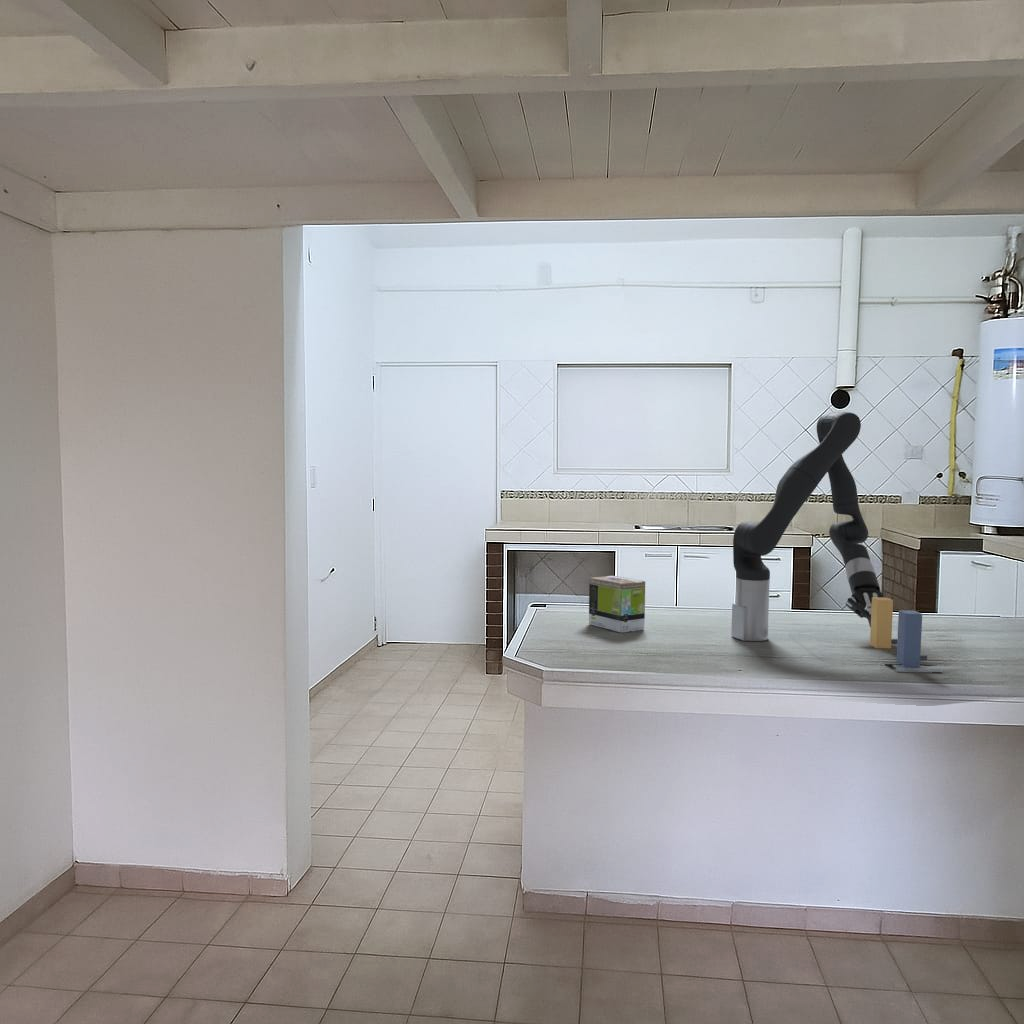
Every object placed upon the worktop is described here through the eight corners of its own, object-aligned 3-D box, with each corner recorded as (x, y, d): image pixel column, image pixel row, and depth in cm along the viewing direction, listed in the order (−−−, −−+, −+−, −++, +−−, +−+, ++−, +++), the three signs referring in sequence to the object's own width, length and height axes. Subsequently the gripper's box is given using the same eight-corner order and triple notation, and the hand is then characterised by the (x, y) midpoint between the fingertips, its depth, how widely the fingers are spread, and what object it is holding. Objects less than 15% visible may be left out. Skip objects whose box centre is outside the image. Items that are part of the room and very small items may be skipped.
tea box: (645, 629, 249) (646, 580, 248) (620, 633, 244) (621, 583, 242) (612, 621, 262) (613, 574, 261) (587, 624, 256) (588, 576, 255)
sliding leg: (900, 648, 223) (902, 600, 222) (875, 648, 223) (877, 599, 222) (893, 645, 227) (896, 597, 226) (869, 644, 227) (871, 597, 226)
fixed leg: (929, 666, 206) (932, 614, 205) (903, 665, 206) (905, 613, 205) (922, 662, 210) (924, 610, 209) (896, 661, 210) (898, 610, 209)
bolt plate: (942, 672, 204) (942, 668, 204) (896, 671, 204) (896, 667, 204) (897, 647, 230) (897, 643, 230) (856, 646, 230) (856, 642, 230)
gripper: (841, 569, 236) (856, 621, 225) (889, 569, 235) (906, 622, 224) (834, 584, 242) (848, 636, 230) (881, 585, 241) (897, 637, 230)
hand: (877, 629), depth 227 cm, fingers closed
